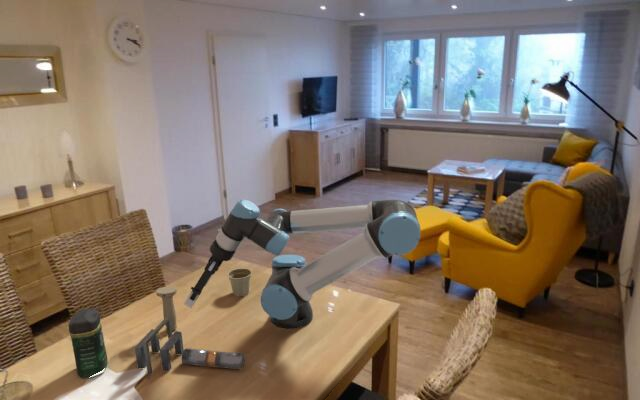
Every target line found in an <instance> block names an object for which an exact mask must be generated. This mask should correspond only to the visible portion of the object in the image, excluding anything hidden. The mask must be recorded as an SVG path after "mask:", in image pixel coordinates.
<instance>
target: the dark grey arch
mask: <svg viewBox="0 0 640 400" xmlns="http://www.w3.org/2000/svg"><path fill="white" fill-rule="evenodd" d="M173 332H174V333H173ZM173 332H172V336H171V337H170V338H169V339H168V338H167V341H166V342H165V343H164V344H163V345H162V346H161V347H160V351H159V355H160V362H161V368H162V372H170V371H171V369H172V362H171V361H172V360H171V356H170V353H171V352H170V351H171V349H173V348H174V352H175V355H178V356H179V355H180V356H182V353H183V351H184V349H185V348H184V342H183V341H184V340H183V334H182V331H177V330H175V331H173ZM173 345H174V347H173ZM172 347H173V348H172Z"/></svg>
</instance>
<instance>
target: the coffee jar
mask: <svg viewBox="0 0 640 400" xmlns="http://www.w3.org/2000/svg"><path fill="white" fill-rule="evenodd" d="M67 327H68V332H69V336H70V341H71V345H72V351H73V355H74V359H75V361H74V362H75V366H76V367H75V368H76V373H77V377H78V378H80V379H90V378H89V377H90V376H92V375H94V374H96V373H98V372H100V371H102V370H103V369H104V368H106V369H107V367H108V363H109V361H108V360H109V359H108V355H107V354H108V353H107V348H106V345H105V339H104V334H103V326H102V318H101V315H100V311H99V310H97V309H96V308H93V307H90V308H83V309H78V311H75V313H74V314H72V316H71V318H70V320H69V322H68V326H67Z"/></svg>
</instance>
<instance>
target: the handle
mask: <svg viewBox="0 0 640 400" xmlns="http://www.w3.org/2000/svg"><path fill="white" fill-rule="evenodd" d="M177 291H178V290H177V287H175V286H162V287H159V288H157V289H156V291H155V293H156V296H157V297H160V298H161V301H162V313H163V320H164V319H165V318H166V316H170V320H171V328H172V332H175V331H177V330H176V329H177V328H178V327H177V314H176V308H175V303H174V299H173V298H174V296H175V295H177V293H178V292H177ZM164 326H165V329H166V330H167V326H166V324H165V325H164Z"/></svg>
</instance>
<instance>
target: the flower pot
mask: <svg viewBox="0 0 640 400" xmlns="http://www.w3.org/2000/svg"><path fill="white" fill-rule="evenodd" d="M252 273H253V272H252V270H251V269H249V268H246V267H245V268H244V267H243V268H241V267H240V268H235V269H231V270H230V271H229V272H227V275H226V276H227V278H228V280H229V282H230V285H231V291H232V294H233V296H235V297H238V298H240V297H245V296H247V295H249V294H250V283H251V277H252Z"/></svg>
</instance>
